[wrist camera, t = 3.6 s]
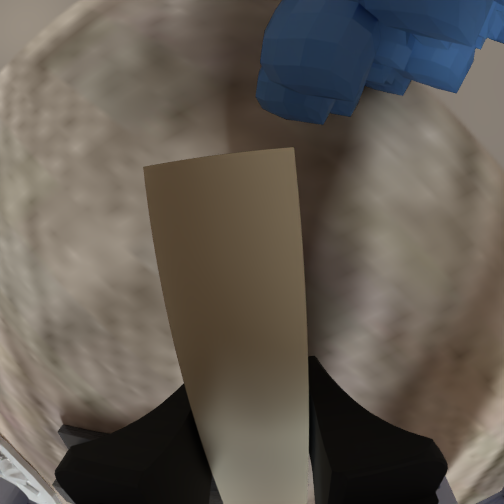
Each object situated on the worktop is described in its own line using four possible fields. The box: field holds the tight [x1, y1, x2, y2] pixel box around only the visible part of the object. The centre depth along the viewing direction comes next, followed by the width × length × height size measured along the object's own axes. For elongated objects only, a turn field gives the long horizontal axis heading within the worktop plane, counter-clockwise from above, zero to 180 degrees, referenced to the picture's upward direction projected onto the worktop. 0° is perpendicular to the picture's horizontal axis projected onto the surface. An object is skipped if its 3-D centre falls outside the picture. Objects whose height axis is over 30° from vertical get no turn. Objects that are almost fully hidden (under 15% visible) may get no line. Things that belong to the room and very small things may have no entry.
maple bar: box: [143, 147, 309, 504], centre depth 11 cm, size 3×16×6 cm, turn 6°
